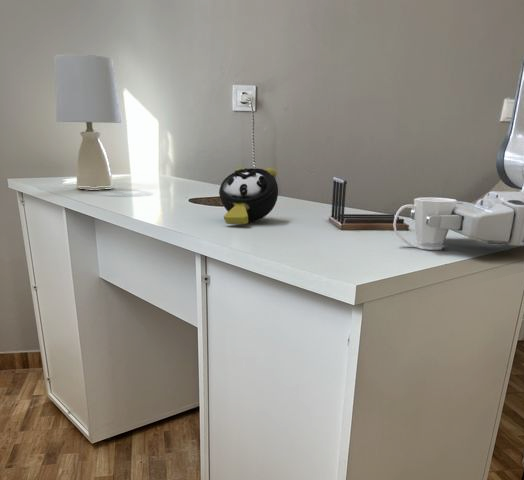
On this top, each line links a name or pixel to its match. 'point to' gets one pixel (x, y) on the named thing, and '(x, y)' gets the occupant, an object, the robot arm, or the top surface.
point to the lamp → (87, 110)
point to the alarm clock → (248, 194)
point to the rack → (359, 220)
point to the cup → (422, 210)
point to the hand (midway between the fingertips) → (419, 217)
